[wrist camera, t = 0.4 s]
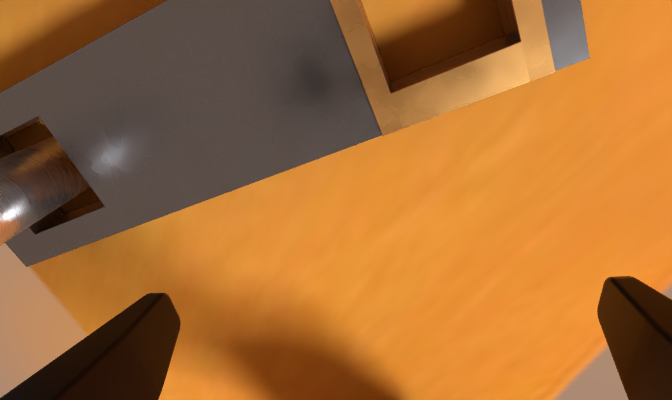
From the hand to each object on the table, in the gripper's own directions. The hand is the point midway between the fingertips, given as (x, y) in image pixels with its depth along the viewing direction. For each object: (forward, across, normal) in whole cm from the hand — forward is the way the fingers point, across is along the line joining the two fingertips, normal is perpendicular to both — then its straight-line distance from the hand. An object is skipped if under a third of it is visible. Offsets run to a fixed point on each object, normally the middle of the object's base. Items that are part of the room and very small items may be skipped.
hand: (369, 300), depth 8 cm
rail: (+14, +8, -1) cm, 17 cm away
